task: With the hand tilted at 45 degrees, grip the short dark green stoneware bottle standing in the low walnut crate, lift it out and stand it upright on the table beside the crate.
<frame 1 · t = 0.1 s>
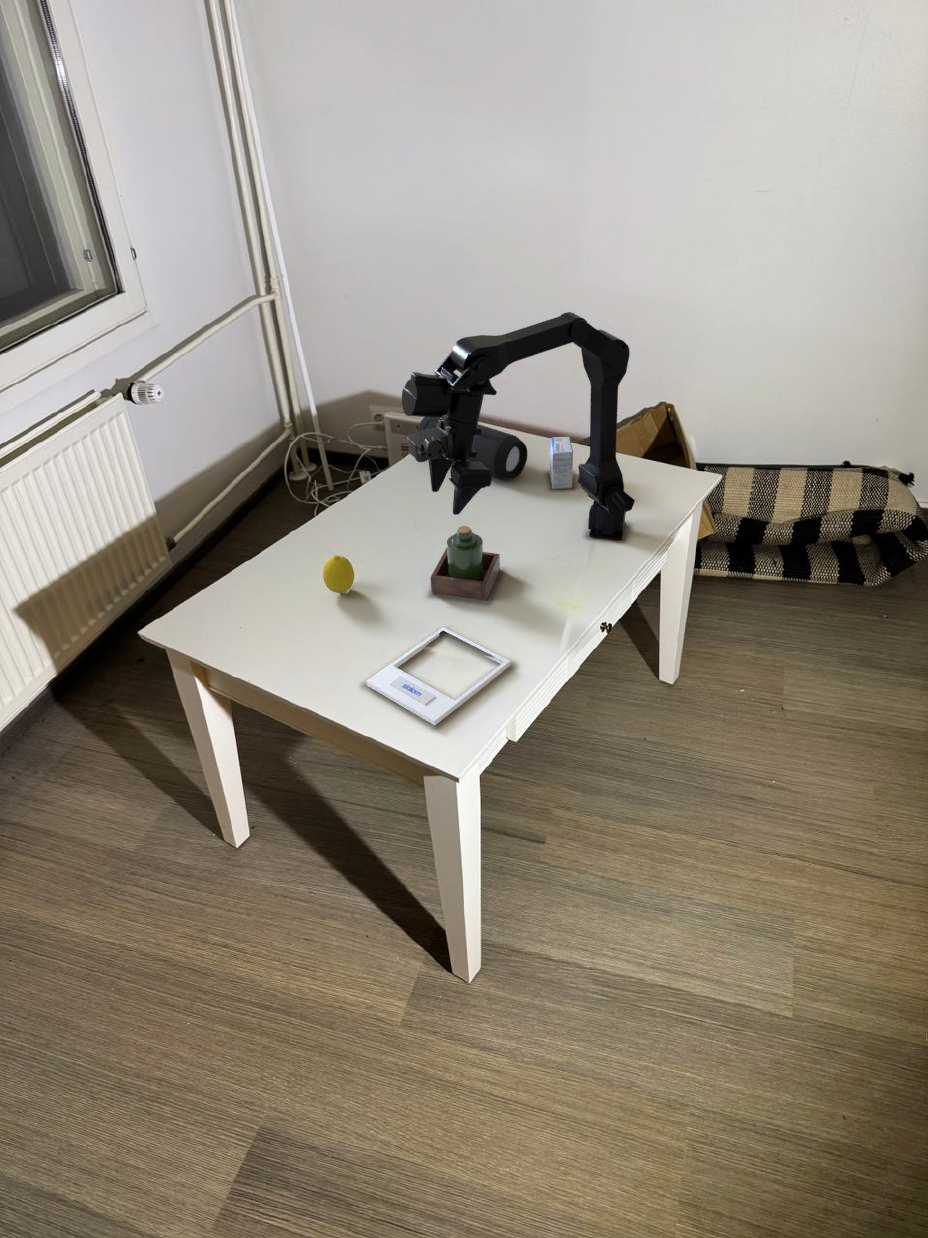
hand: (445, 502, 154), 15 cm above the table, tool pointing down, fingers open, 9 cm apart
photo frame: (439, 676, 140), on the table
lemon: (341, 593, 160), on the table
medicine box: (560, 481, 191), on the table
bottle: (466, 581, 160), resting on crate
portable speaker: (471, 466, 199), on the table
crate: (466, 583, 161), on the table
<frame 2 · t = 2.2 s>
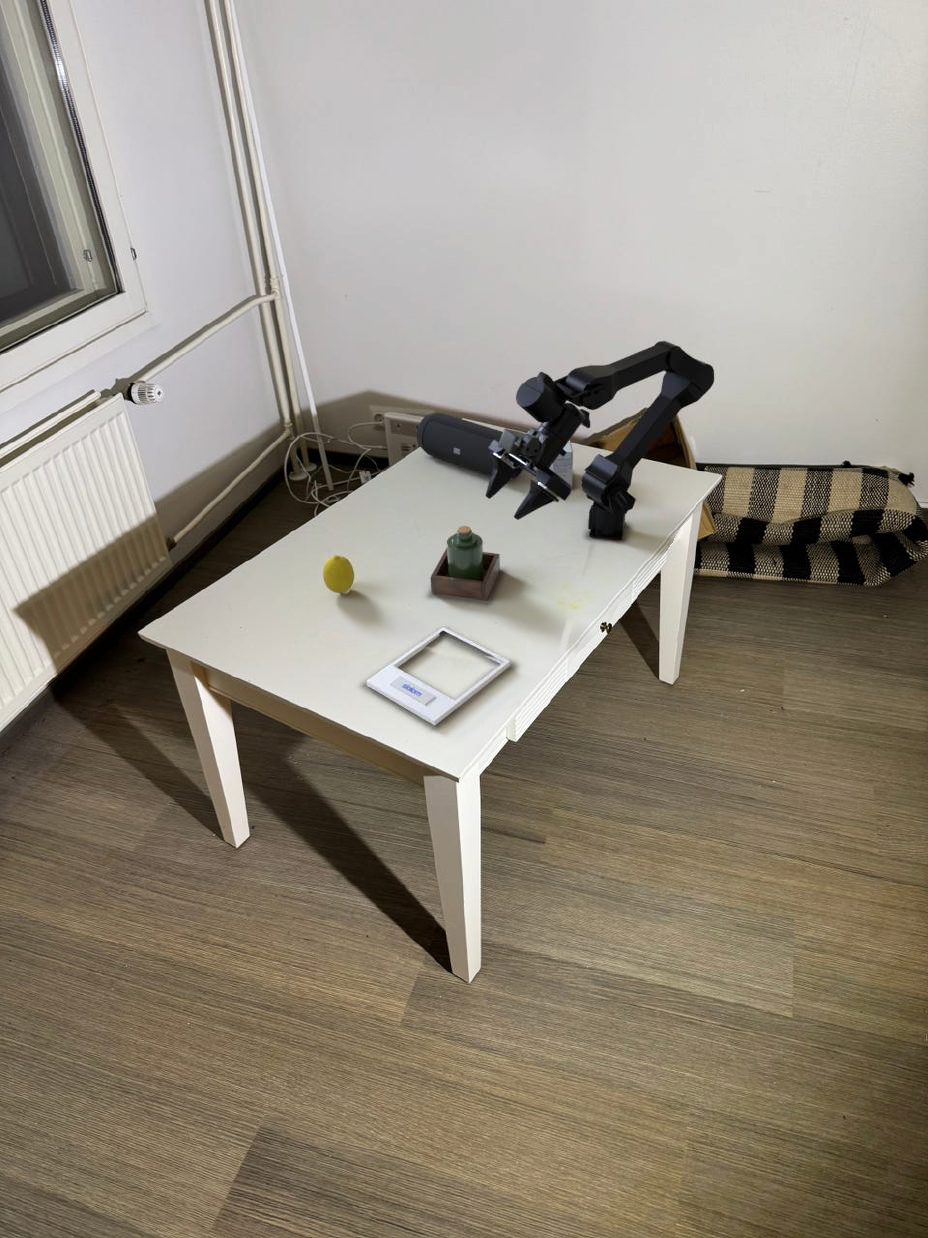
hand: (501, 507, 156), 13 cm above the table, tool tilted 45°, fingers open, 9 cm apart
nothing on the table moved.
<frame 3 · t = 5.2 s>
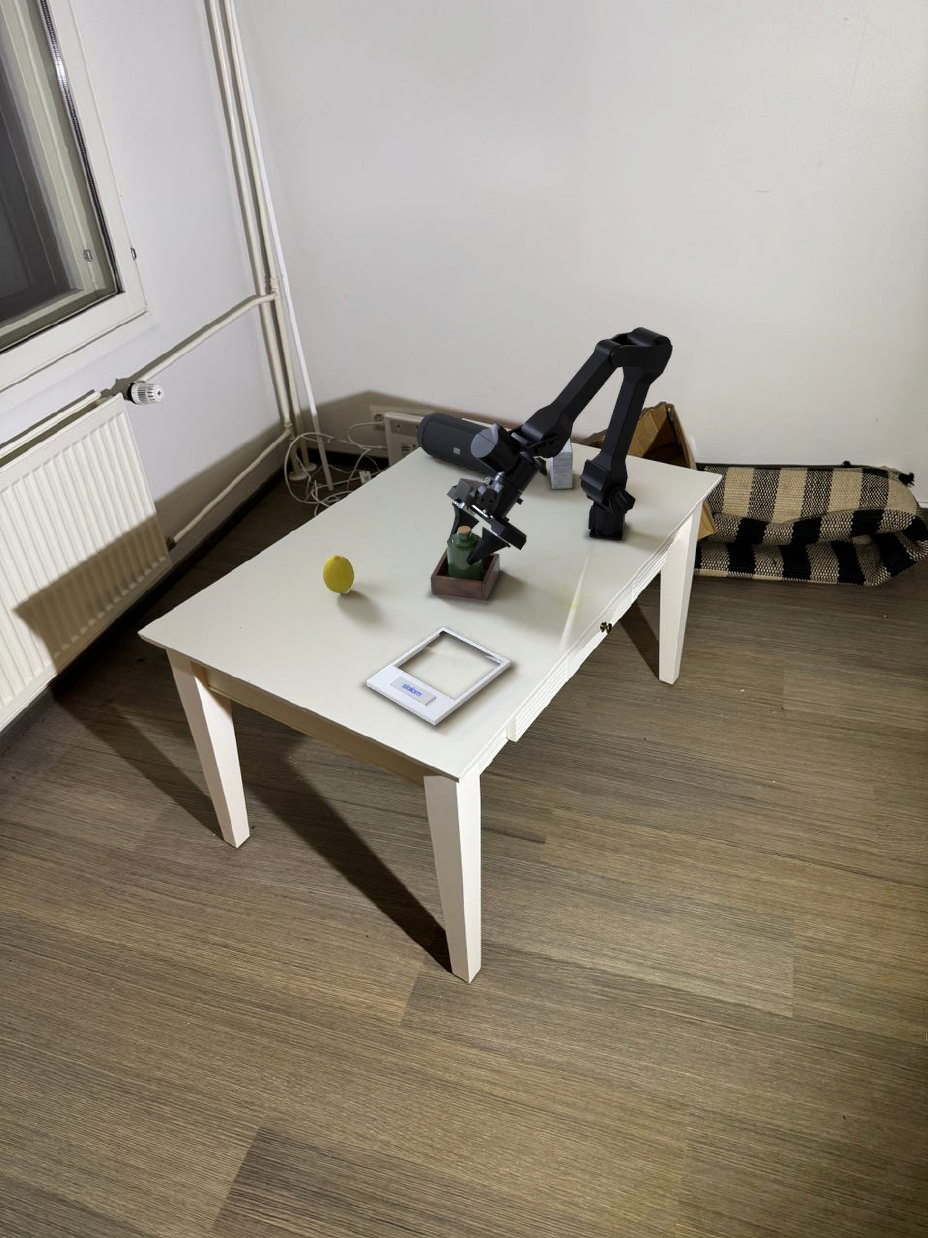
hand: (458, 555, 156), 7 cm above the table, tool tilted 45°, fingers closed on bottle, 6 cm apart
bottle: (466, 581, 160), point 1 cm above the table, touching crate, gripper
everything else where it was.
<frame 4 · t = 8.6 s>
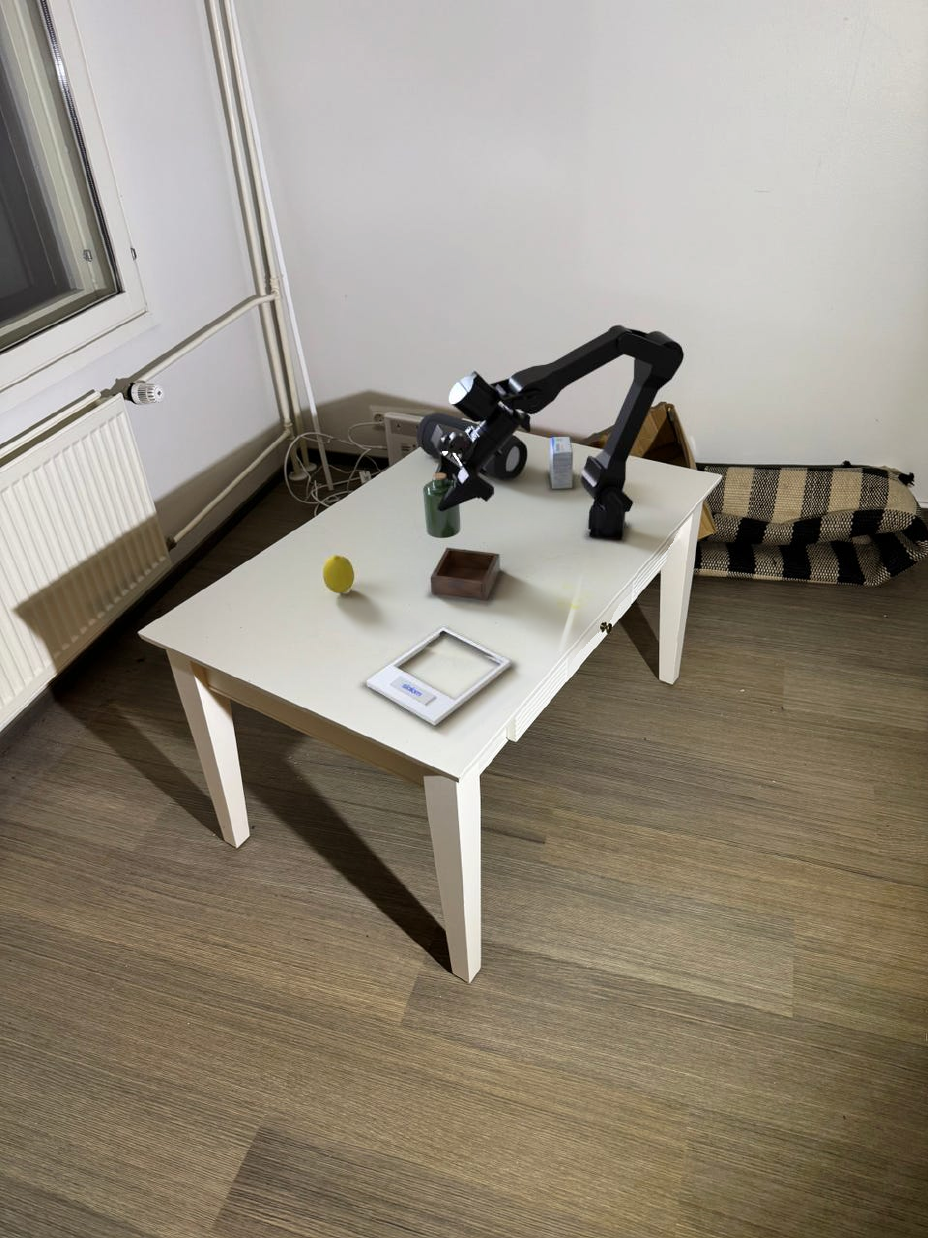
hand: (434, 501, 158), 13 cm above the table, tool tilted 45°, fingers closed on bottle, 6 cm apart
bottle: (443, 529, 162), point 7 cm above the table, touching gripper
everything else where it was.
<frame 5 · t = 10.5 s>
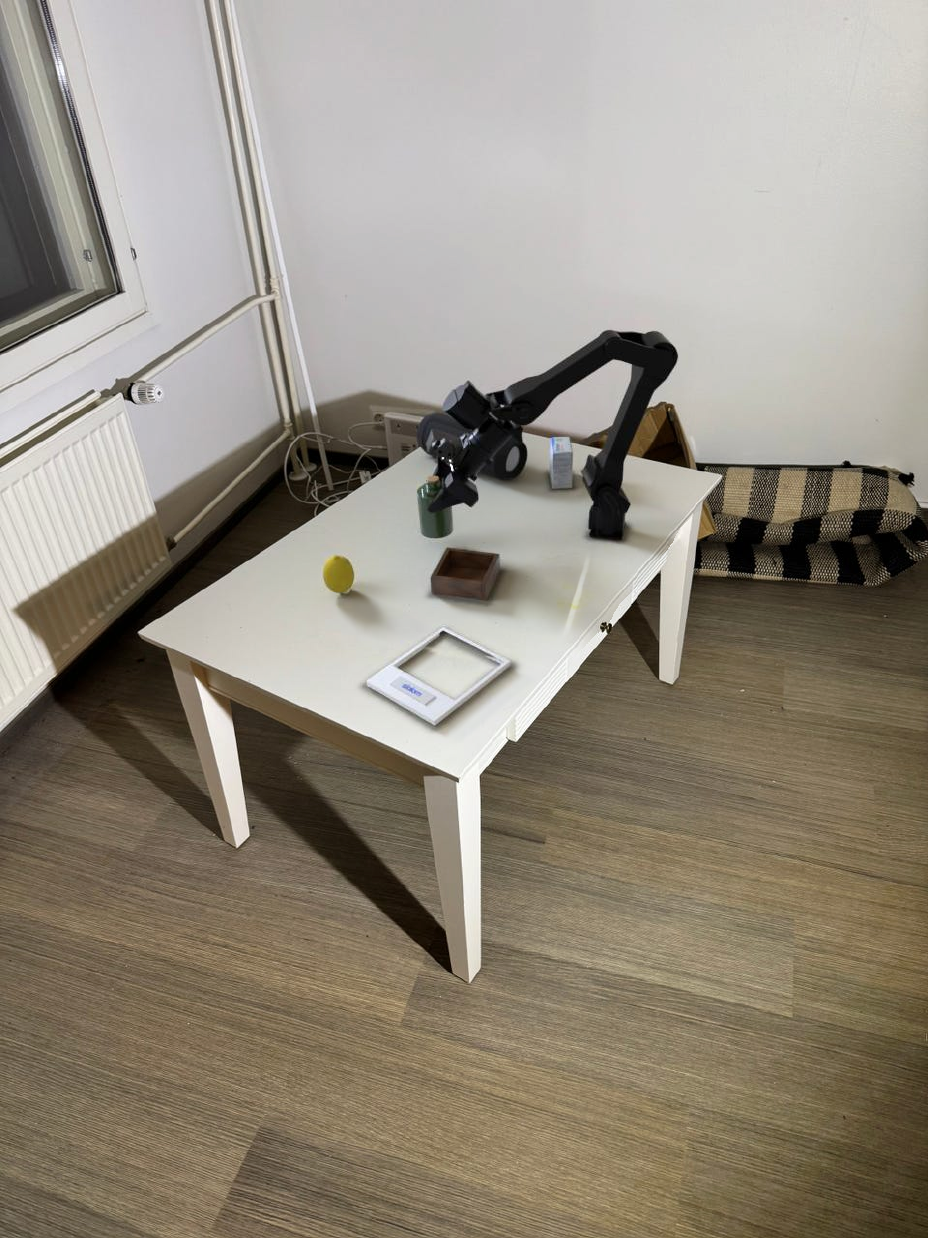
hand: (427, 502, 165), 10 cm above the table, tool tilted 45°, fingers closed on bottle, 6 cm apart
bottle: (436, 529, 169), point 4 cm above the table, touching gripper
everything else where it was.
when the fingers open (6 cm above the table, at t = 12.1 s): bottle stays where it is, on the table.
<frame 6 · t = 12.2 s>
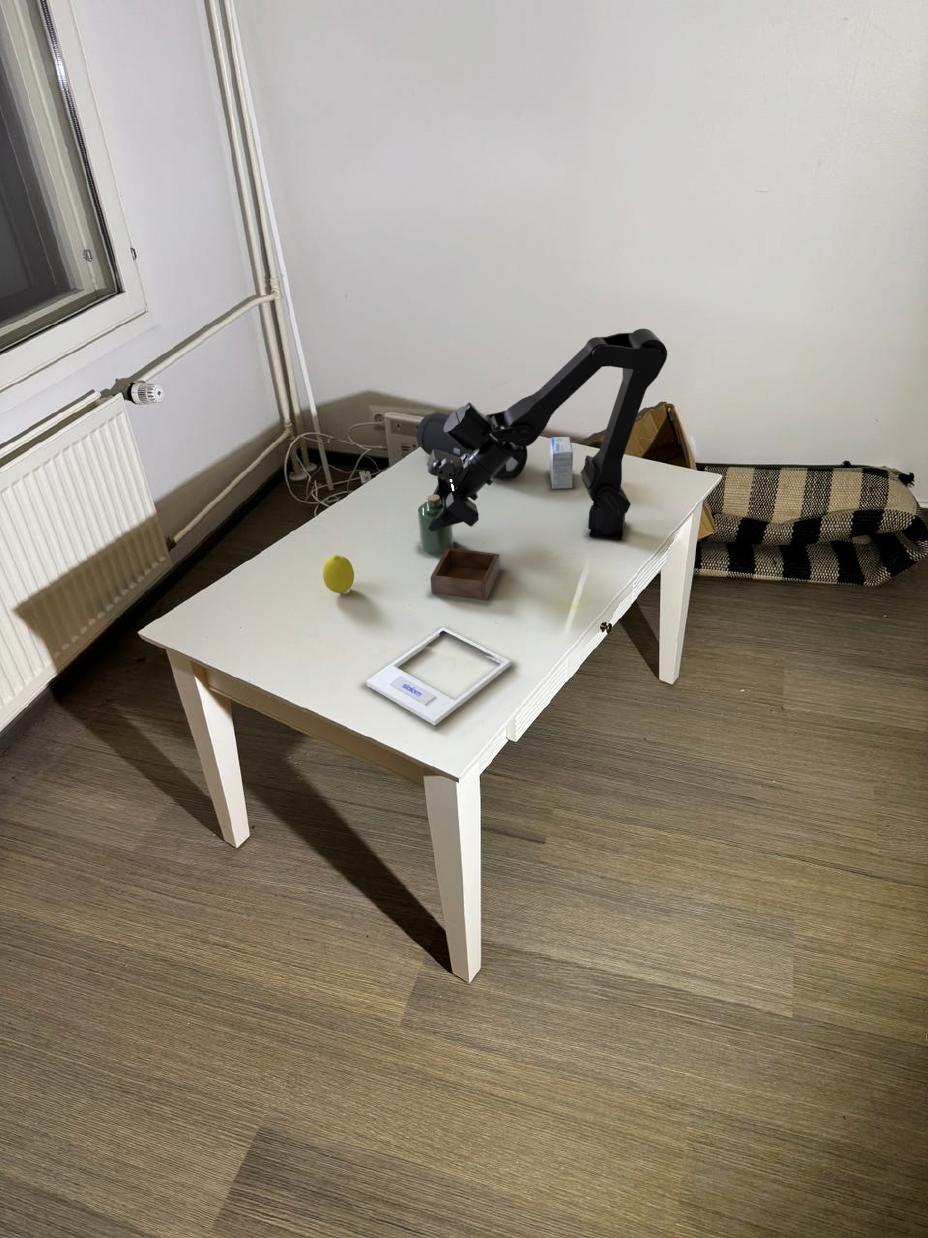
hand: (428, 520, 167), 6 cm above the table, tool tilted 45°, fingers open, 6 cm apart
bottle: (437, 547, 171), on the table
everything else where it was.
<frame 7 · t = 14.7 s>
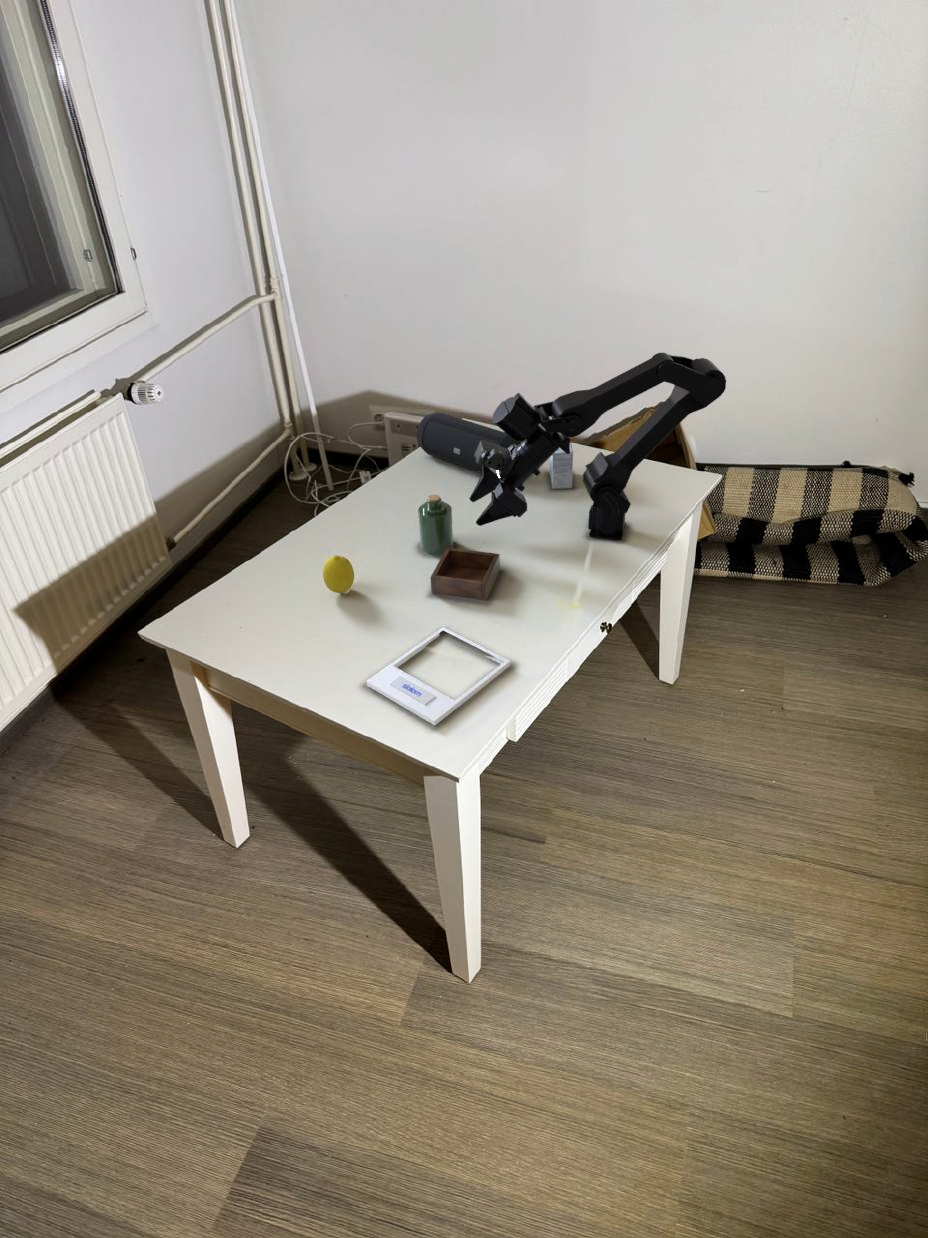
hand: (474, 512, 167), 7 cm above the table, tool tilted 45°, fingers open, 9 cm apart
nothing on the table moved.
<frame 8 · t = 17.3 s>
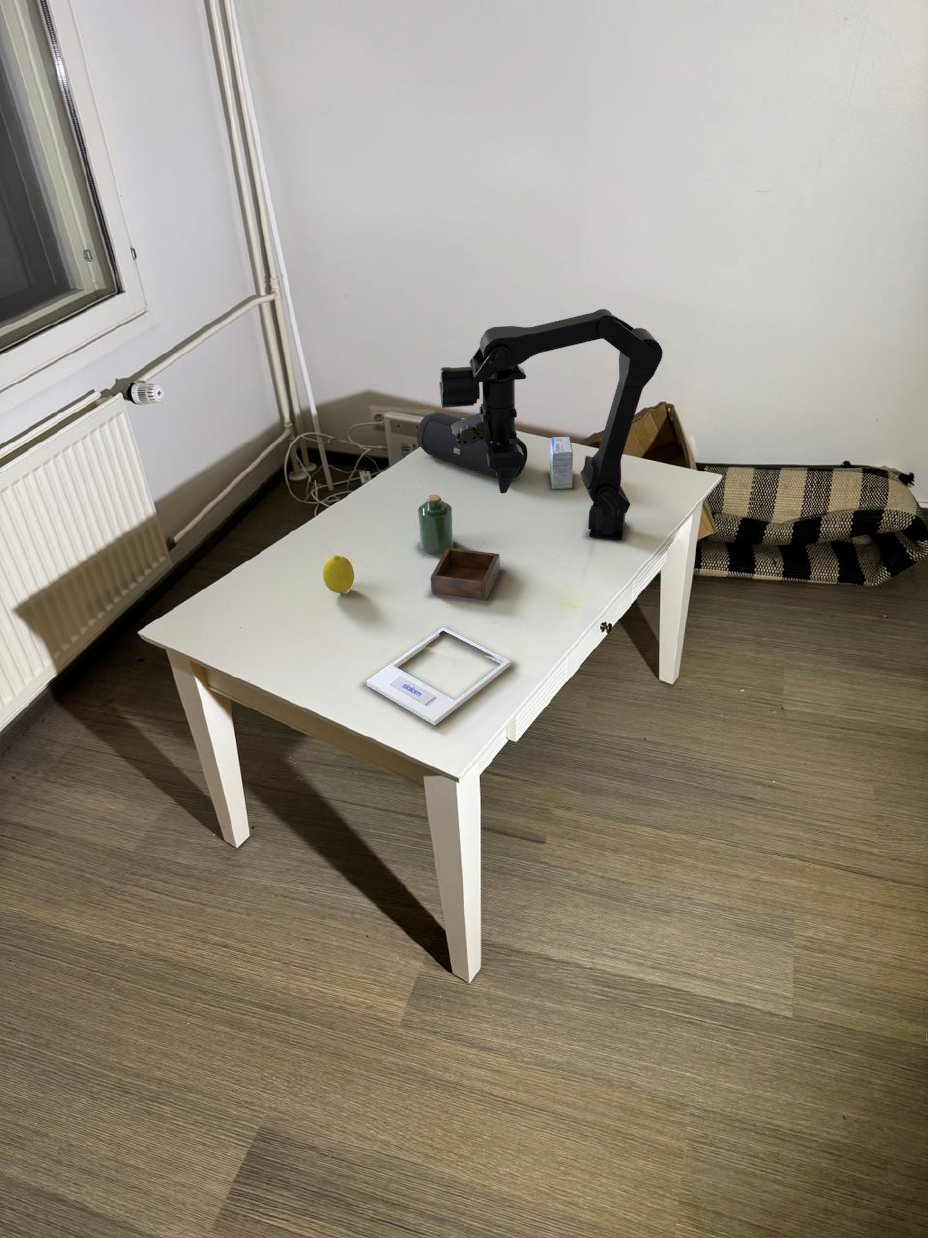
hand: (499, 481, 164), 13 cm above the table, tool pointing down, fingers open, 9 cm apart
nothing on the table moved.
at the end: bottle inside the target area (0.1 cm from its centre), on the table; bottle tilted 0°; the gripper is holding nothing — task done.
